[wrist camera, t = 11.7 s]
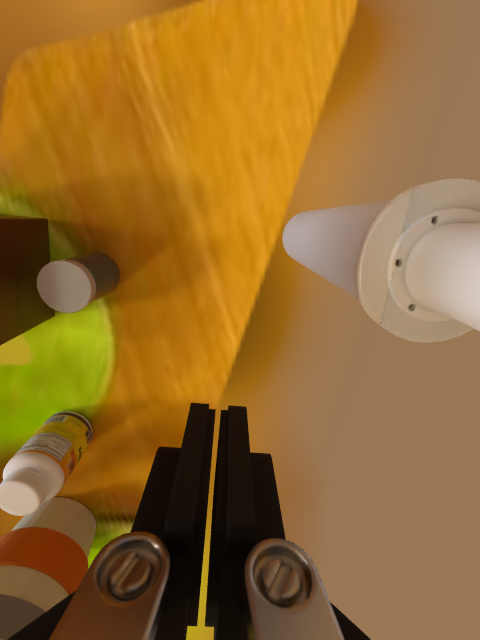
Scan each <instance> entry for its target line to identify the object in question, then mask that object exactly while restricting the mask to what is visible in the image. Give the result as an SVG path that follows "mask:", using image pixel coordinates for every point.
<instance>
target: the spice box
mask: <svg viewBox="0 0 480 640" xmlns="http://www.w3.org/2000/svg"><path fill="white" fill-rule="evenodd" d="M48 263H50V251H49V238H48V224H47V219H44V218H34V217H24V216H14V215H4V214H0V345H2V344H4V343H5V342H7V341H9V340H11V339H13V338H15V337H17V336H19V335H20V334H22V333H24V332H26V331H28V330H30V329H32V328H33V327H35V326H37V325H39V324H41V323H43V322H45V321H46V320H48V319H50V318H52V317H54V309H52V308H51V307H49V306H48V305H47V304H46V303H45V302H44V301H43V299H42V298H41V296H40V294H39V292H38V289H37V277H38V274H39V272H40V270H41V269H42V268H43V267H44V266H45V265H46V264H48Z"/></svg>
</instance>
